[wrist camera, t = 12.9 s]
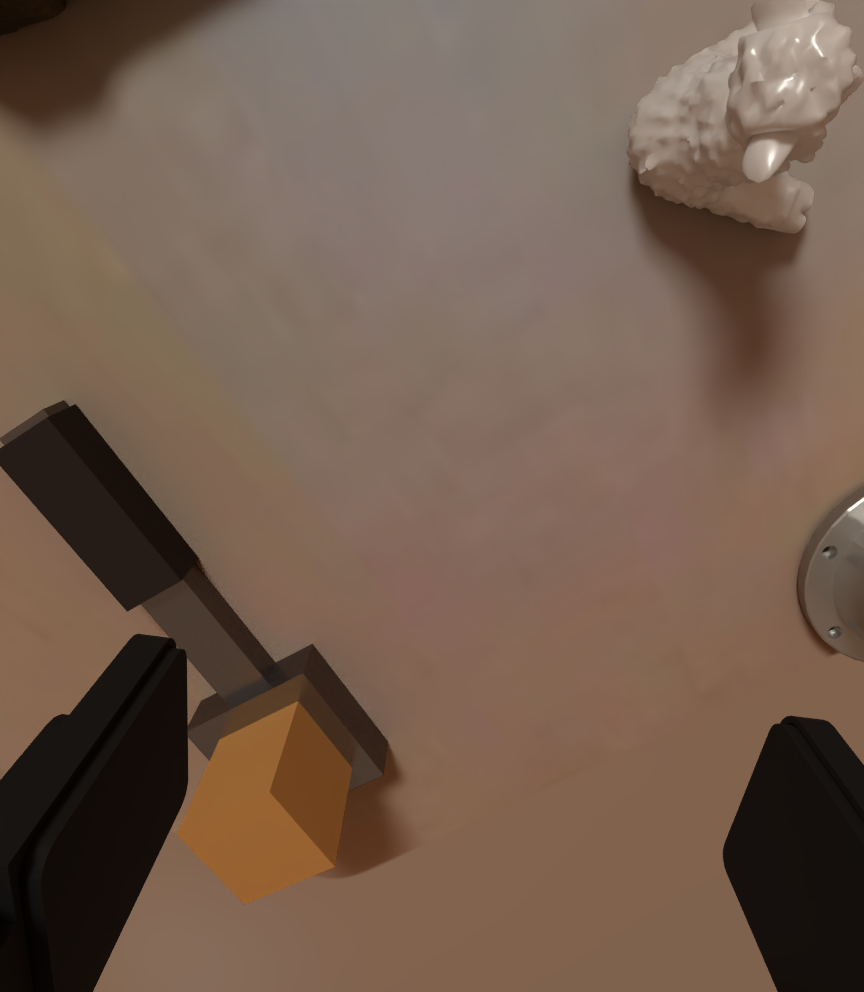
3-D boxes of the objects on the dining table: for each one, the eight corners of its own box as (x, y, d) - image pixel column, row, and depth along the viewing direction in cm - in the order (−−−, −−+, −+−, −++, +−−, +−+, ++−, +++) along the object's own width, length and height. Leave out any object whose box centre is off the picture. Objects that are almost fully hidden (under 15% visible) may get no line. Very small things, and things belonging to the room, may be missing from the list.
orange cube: (298, 700, 40) (269, 791, 33) (352, 768, 42) (334, 866, 35) (219, 739, 41) (176, 834, 35) (275, 803, 43) (244, 904, 36)
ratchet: (387, 741, 45) (379, 813, 39) (279, 791, 47) (257, 867, 41) (103, 373, 36) (40, 399, 30) (-16, 453, 38) (-97, 491, 32)
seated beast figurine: (797, 231, 32) (980, 230, 21) (620, 258, 33) (709, 270, 22) (809, 2, 29) (1035, -142, 18) (611, 37, 30) (711, -81, 19)
